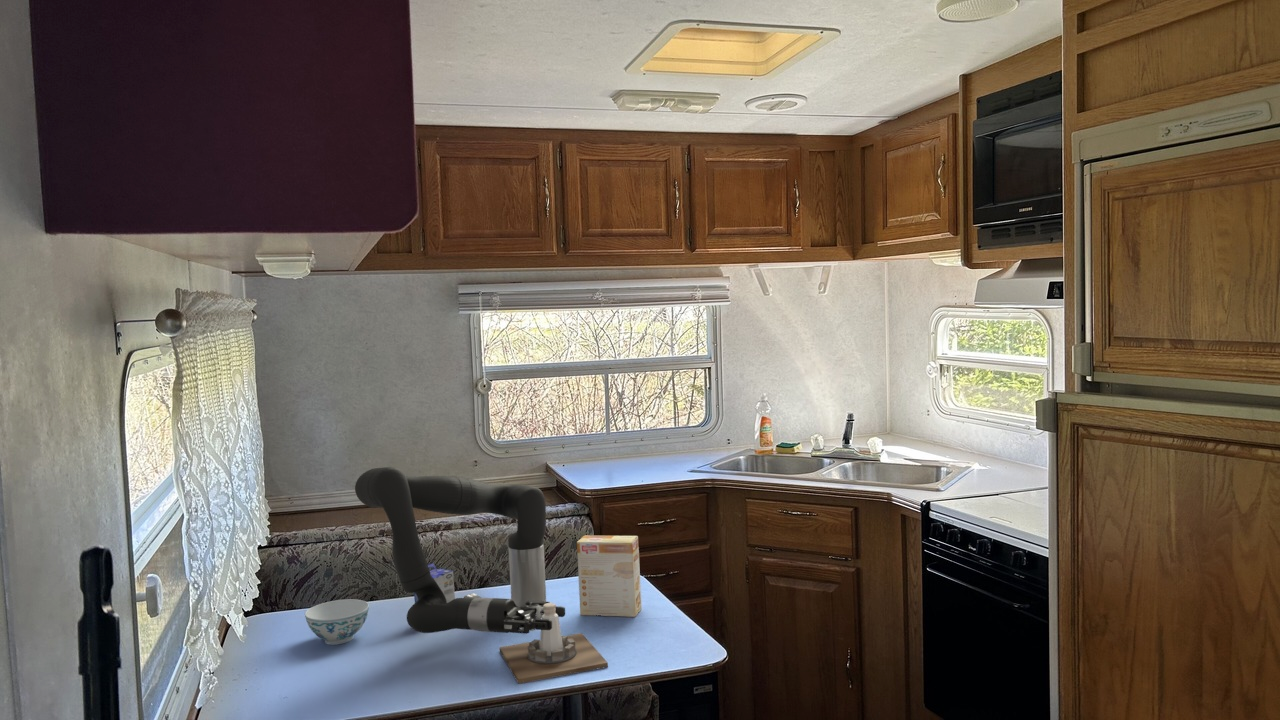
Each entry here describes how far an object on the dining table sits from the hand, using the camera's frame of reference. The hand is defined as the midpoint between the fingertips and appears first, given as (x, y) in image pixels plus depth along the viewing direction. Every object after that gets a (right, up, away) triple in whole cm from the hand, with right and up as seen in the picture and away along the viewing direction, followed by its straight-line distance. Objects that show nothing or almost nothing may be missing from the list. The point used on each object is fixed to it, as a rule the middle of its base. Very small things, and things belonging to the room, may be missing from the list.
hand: (558, 618), depth 200 cm
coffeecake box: (+11, -8, +31) cm, 34 cm away
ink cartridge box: (-35, -10, +30) cm, 47 cm away
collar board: (-1, -10, +1) cm, 10 cm away
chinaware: (-56, -11, +19) cm, 60 cm away
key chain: (-25, -9, +44) cm, 51 cm away
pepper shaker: (-2, -8, +1) cm, 8 cm away
